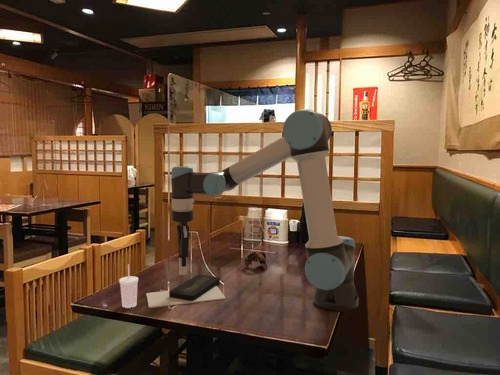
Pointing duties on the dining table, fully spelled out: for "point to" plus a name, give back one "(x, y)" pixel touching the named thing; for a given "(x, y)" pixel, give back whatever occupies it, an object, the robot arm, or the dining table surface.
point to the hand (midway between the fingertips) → (183, 274)
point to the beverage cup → (129, 290)
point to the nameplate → (194, 287)
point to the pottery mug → (256, 259)
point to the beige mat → (164, 300)
